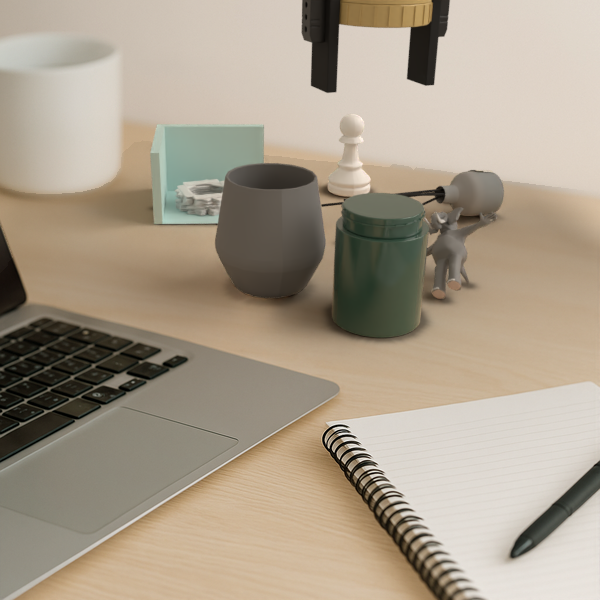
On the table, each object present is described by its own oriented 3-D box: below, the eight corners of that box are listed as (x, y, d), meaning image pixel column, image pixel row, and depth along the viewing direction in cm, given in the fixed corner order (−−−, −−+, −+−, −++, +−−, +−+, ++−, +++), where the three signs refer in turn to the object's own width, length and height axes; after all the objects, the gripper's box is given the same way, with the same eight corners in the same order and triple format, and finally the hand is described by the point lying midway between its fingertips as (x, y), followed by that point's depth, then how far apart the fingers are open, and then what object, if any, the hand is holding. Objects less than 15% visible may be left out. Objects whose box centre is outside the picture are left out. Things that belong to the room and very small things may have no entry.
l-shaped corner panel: (154, 224, 86) (150, 153, 82) (160, 188, 96) (156, 124, 93) (269, 222, 87) (270, 152, 84) (263, 187, 98) (263, 124, 94)
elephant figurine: (378, 295, 72) (387, 227, 78) (421, 334, 74) (427, 265, 80) (475, 244, 66) (476, 175, 72) (517, 288, 68) (515, 218, 75)
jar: (410, 297, 71) (420, 190, 67) (428, 337, 65) (440, 221, 60) (327, 298, 70) (332, 190, 66) (336, 338, 64) (342, 221, 60)
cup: (209, 268, 76) (206, 162, 71) (308, 261, 78) (311, 157, 73) (226, 314, 67) (224, 196, 63) (336, 304, 69) (342, 190, 65)
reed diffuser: (522, 163, 86) (358, 165, 77) (526, 229, 86) (363, 239, 77) (460, 176, 95) (307, 180, 86) (464, 236, 96) (312, 246, 86)
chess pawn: (323, 184, 99) (326, 109, 95) (364, 183, 100) (369, 108, 96) (332, 198, 95) (335, 119, 91) (374, 196, 95) (379, 119, 92)
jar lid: (337, 12, 64) (338, -14, 63) (436, 18, 62) (439, -10, 61) (312, 24, 57) (312, -6, 56) (423, 30, 55) (425, 0, 54)
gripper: (267, -320, 45) (265, 105, 54) (564, -279, 52) (515, 86, 62) (220, -294, 51) (226, 84, 61) (492, -261, 59) (458, 69, 68)
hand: (373, 85), depth 61 cm, fingers closed on jar lid, 7 cm apart
